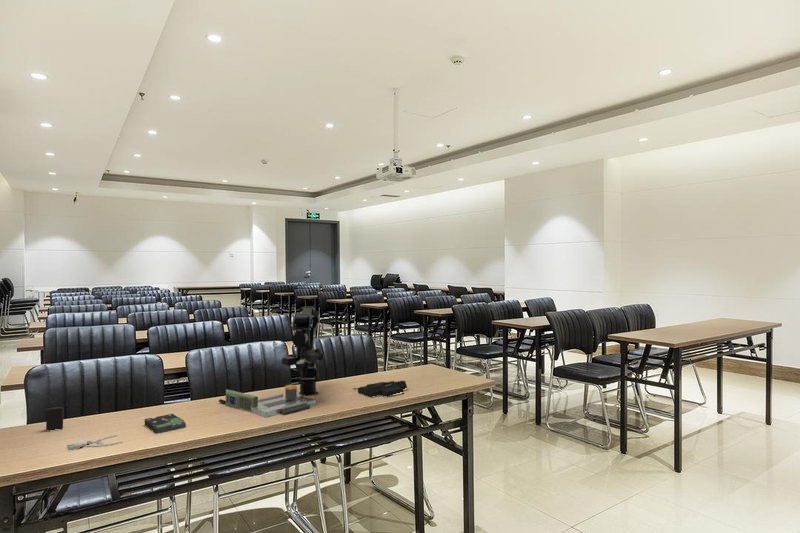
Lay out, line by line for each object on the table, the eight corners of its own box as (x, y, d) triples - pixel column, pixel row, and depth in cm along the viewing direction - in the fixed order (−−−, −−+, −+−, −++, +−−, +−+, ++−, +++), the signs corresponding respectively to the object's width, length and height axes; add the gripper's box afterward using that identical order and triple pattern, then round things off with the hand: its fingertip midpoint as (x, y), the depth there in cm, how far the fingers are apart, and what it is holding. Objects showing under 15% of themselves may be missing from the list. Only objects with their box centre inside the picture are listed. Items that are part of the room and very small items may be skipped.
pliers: (122, 439, 164) (69, 450, 155) (122, 443, 164) (69, 455, 155) (117, 432, 172) (66, 441, 163) (117, 436, 172) (66, 446, 163)
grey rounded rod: (281, 399, 218) (281, 392, 218) (286, 400, 215) (286, 394, 215) (255, 405, 208) (255, 398, 208) (260, 406, 206) (259, 400, 206)
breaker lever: (291, 397, 211) (291, 384, 211) (297, 398, 208) (296, 386, 208) (285, 398, 209) (285, 385, 209) (290, 400, 206) (290, 387, 206)
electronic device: (376, 381, 251) (376, 372, 251) (413, 393, 227) (412, 382, 227) (341, 388, 239) (341, 377, 239) (376, 400, 215) (376, 389, 215)
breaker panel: (294, 398, 219) (294, 393, 219) (315, 404, 208) (315, 399, 208) (245, 409, 202) (245, 404, 202) (265, 417, 191) (265, 411, 191)
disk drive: (143, 426, 184) (156, 435, 173) (143, 419, 184) (156, 427, 173) (172, 420, 191) (186, 428, 180) (172, 413, 191) (186, 420, 180)
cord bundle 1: (304, 406, 205) (304, 400, 205) (310, 408, 202) (310, 401, 202) (277, 413, 196) (277, 406, 196) (283, 415, 193) (283, 408, 193)
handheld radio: (252, 414, 197) (216, 404, 212) (258, 412, 200) (222, 403, 215) (252, 397, 198) (216, 388, 212) (259, 396, 200) (223, 387, 215)
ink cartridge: (63, 427, 182) (63, 406, 182) (62, 429, 180) (62, 407, 180) (47, 429, 179) (47, 408, 180) (46, 431, 177) (46, 409, 178)
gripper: (295, 347, 201) (295, 385, 201) (331, 341, 214) (331, 377, 214) (280, 344, 209) (281, 381, 209) (316, 339, 222) (316, 373, 222)
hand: (303, 378), depth 213 cm, fingers closed
